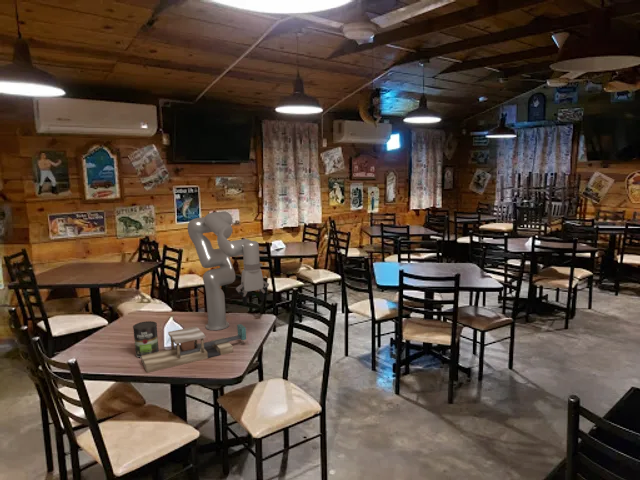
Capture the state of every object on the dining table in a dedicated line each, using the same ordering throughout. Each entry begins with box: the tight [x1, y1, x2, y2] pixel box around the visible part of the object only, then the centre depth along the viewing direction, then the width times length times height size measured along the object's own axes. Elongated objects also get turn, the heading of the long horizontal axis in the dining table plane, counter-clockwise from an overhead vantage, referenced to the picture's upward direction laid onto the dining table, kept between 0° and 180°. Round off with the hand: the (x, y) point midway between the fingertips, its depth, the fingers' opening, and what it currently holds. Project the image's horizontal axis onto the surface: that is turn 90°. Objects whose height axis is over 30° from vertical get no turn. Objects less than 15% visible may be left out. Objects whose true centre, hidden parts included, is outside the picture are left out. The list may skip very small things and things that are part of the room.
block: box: [179, 340, 195, 351], centre depth 204 cm, size 5×5×5 cm
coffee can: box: [132, 320, 160, 359], centre depth 209 cm, size 10×10×14 cm
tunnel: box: [140, 325, 234, 374], centre depth 204 cm, size 14×38×11 cm, turn 121°
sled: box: [175, 323, 247, 356], centre depth 210 cm, size 9×31×6 cm, turn 121°
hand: (253, 302), depth 218 cm, fingers open, 8 cm apart
